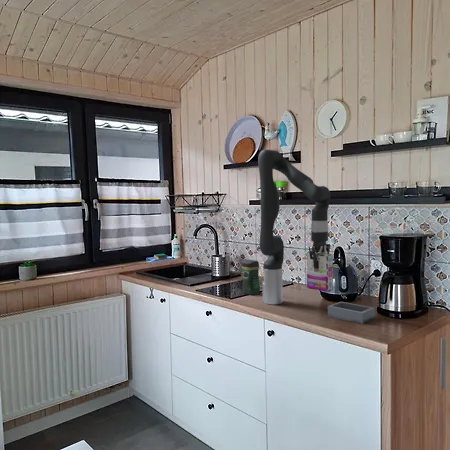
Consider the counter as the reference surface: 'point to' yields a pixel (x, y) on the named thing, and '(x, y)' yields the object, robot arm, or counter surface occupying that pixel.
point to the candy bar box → (320, 273)
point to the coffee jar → (250, 277)
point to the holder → (351, 312)
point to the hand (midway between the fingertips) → (319, 267)
